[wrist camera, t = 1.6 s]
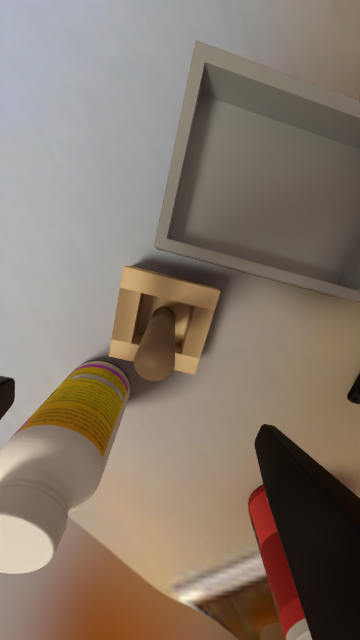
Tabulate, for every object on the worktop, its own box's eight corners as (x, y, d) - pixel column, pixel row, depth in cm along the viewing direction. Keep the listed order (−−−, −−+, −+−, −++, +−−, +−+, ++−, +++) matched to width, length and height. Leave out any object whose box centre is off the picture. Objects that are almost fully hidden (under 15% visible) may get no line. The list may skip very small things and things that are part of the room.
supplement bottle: (72, 353, 21) (-80, 488, 8) (135, 364, 21) (79, 507, 9) (69, 405, 22) (-61, 580, 10) (126, 414, 23) (70, 591, 11)
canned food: (235, 506, 28) (271, 655, 17) (271, 470, 26) (337, 612, 16) (275, 524, 29) (332, 673, 19) (313, 492, 27) (399, 636, 17)
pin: (177, 309, 19) (179, 349, 10) (172, 330, 19) (169, 384, 11) (155, 304, 19) (137, 340, 10) (150, 325, 19) (130, 376, 11)
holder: (213, 286, 19) (220, 291, 16) (192, 359, 21) (194, 374, 18) (131, 265, 18) (123, 266, 15) (118, 343, 20) (108, 356, 17)
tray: (400, 157, 16) (449, 134, 13) (334, 296, 19) (362, 302, 17) (191, 83, 15) (195, 39, 12) (157, 249, 18) (153, 246, 15)
